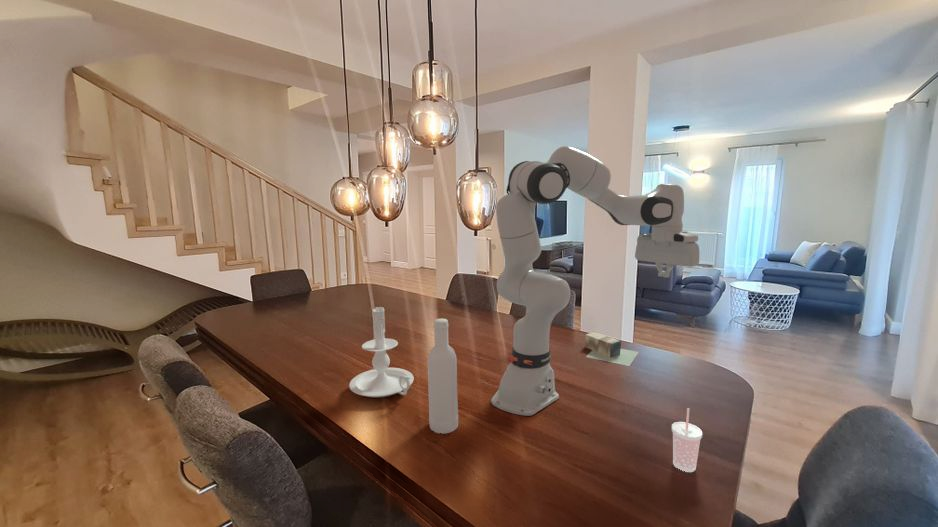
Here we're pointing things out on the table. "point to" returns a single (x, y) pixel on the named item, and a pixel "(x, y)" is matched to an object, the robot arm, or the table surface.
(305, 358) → the table surface
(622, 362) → the mat
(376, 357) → the candlestick
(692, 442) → the beverage cup
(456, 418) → the bottle
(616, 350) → the block
